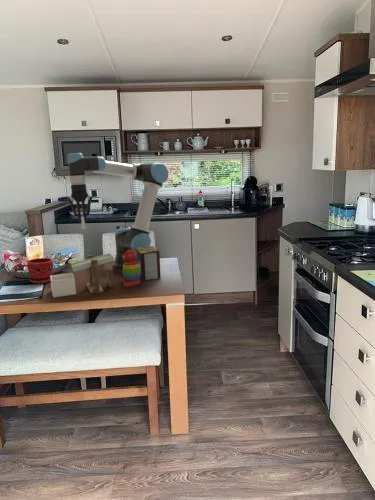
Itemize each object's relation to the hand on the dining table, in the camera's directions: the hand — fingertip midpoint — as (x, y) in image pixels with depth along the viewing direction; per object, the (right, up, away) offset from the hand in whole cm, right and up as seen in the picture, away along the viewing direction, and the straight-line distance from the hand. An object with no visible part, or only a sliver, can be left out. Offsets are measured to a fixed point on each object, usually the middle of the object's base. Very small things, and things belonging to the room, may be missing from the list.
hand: (83, 228), depth 201 cm
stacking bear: (+26, -29, -3) cm, 39 cm away
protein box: (+33, -26, +10) cm, 44 cm away
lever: (+6, -19, -8) cm, 21 cm away
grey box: (-6, -32, -15) cm, 36 cm away
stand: (+11, -30, -8) cm, 33 cm away
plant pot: (-24, -29, +5) cm, 37 cm away
